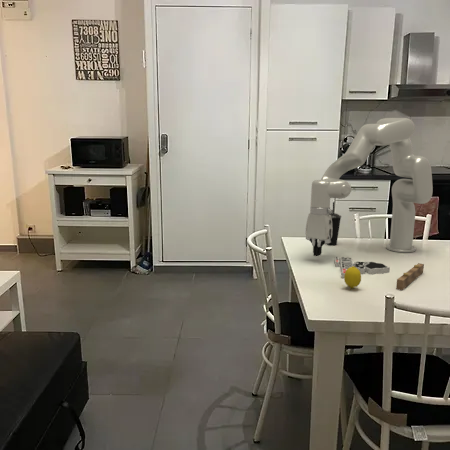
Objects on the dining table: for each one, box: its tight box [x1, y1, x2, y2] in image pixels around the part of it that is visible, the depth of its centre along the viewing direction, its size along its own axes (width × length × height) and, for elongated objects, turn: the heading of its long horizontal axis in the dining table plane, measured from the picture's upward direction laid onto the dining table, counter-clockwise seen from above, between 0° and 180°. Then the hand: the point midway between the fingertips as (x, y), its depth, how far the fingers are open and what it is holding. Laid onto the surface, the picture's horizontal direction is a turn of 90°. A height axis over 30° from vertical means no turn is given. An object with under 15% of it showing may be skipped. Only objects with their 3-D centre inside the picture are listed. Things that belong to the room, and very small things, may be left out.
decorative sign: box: [334, 256, 391, 280], centre depth 176 cm, size 22×2×20 cm
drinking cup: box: [327, 201, 342, 247], centre depth 212 cm, size 8×8×20 cm
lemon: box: [343, 266, 362, 290], centre depth 156 cm, size 6×6×8 cm
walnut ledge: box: [395, 262, 425, 291], centre depth 165 cm, size 24×2×4 cm, turn 141°
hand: (317, 255), depth 187 cm, fingers closed
